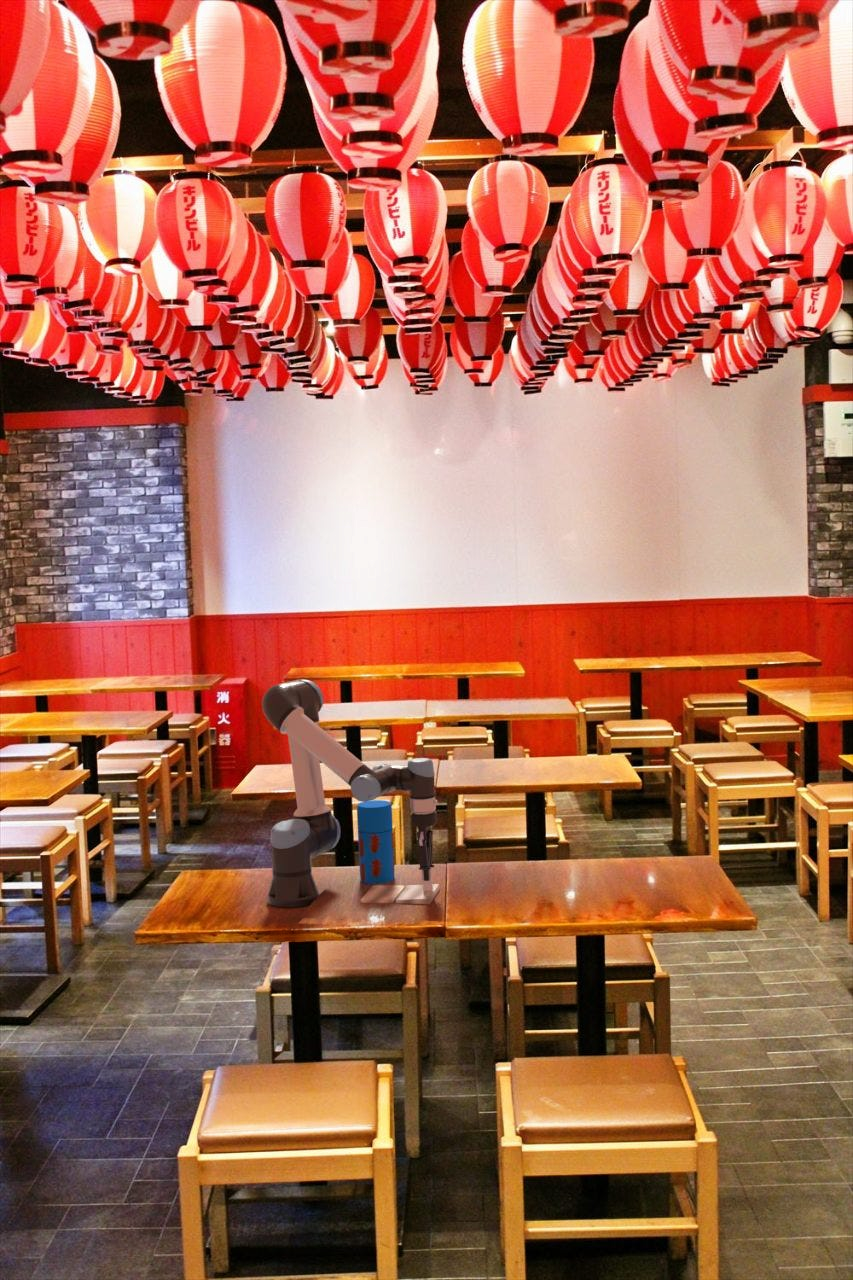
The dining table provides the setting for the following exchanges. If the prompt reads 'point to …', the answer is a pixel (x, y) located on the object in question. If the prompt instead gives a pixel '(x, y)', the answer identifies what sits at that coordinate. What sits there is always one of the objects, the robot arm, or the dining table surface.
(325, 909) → the dining table surface
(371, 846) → the thermos
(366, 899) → the floor board
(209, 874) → the dining table surface
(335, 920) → the dining table surface
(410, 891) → the plank
